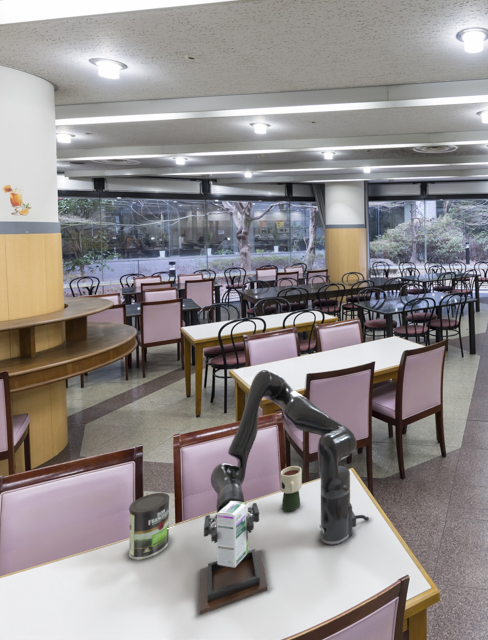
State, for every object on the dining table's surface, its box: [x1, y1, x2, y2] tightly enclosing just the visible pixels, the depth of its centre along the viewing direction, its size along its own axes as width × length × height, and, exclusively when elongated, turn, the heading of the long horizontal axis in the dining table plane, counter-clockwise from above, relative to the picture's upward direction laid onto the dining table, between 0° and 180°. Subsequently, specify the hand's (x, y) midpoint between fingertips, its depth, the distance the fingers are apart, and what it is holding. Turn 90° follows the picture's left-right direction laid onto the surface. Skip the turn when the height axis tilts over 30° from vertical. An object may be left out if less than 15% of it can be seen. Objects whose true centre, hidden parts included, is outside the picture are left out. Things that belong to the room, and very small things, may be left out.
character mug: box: [280, 465, 303, 512], centre depth 153 cm, size 11×7×13 cm, turn 22°
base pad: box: [199, 548, 268, 615], centre depth 119 cm, size 16×16×3 cm
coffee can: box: [128, 492, 170, 561], centre depth 133 cm, size 10×10×14 cm
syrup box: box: [216, 501, 249, 568], centre depth 120 cm, size 6×6×14 cm
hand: (233, 534), depth 118 cm, fingers closed on syrup box, 8 cm apart
